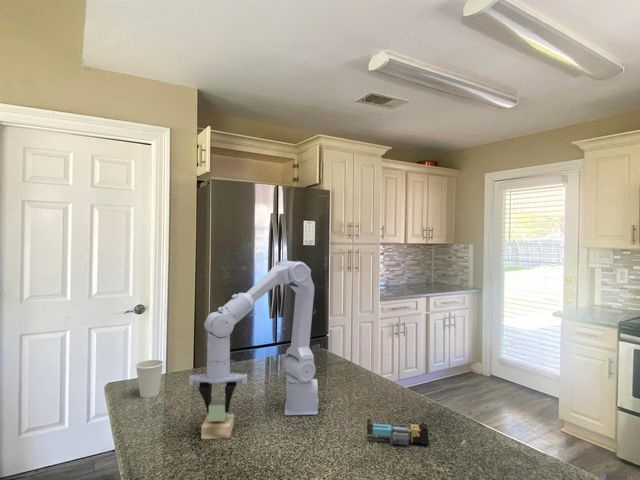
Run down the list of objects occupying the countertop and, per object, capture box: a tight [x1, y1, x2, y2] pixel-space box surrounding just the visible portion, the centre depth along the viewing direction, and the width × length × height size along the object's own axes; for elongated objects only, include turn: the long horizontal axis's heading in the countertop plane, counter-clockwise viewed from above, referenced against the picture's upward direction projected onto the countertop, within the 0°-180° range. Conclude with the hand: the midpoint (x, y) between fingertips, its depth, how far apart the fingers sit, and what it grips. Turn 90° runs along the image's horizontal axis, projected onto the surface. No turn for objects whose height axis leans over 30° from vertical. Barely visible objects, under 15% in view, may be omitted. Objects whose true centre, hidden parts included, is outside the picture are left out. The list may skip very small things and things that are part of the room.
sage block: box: [208, 398, 228, 422], centre depth 100 cm, size 4×4×4 cm
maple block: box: [200, 413, 235, 440], centre depth 100 cm, size 7×7×3 cm
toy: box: [366, 418, 430, 447], centre depth 96 cm, size 6×4×15 cm
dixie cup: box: [135, 359, 165, 399], centre depth 124 cm, size 8×8×10 cm
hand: (218, 411), depth 100 cm, fingers closed on sage block, 4 cm apart
